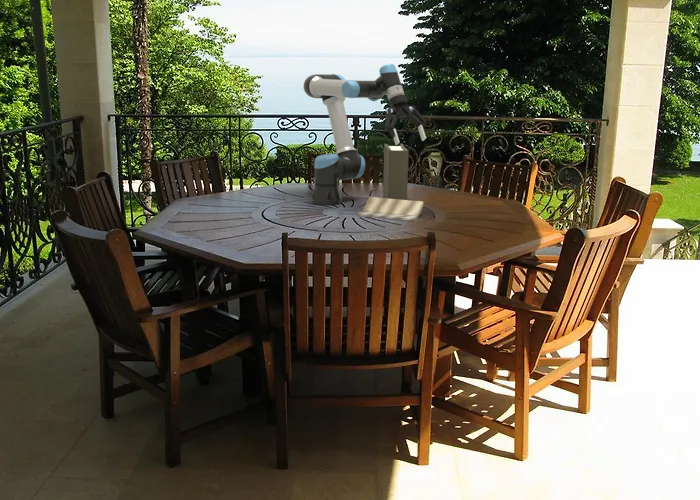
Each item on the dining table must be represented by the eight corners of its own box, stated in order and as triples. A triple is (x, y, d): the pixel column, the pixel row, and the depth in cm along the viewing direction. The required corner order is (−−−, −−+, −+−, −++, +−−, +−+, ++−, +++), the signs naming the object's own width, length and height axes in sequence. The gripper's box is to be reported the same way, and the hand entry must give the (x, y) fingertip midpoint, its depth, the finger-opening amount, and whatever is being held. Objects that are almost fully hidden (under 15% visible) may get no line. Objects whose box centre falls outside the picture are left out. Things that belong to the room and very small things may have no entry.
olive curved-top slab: (406, 207, 321) (408, 149, 313) (387, 207, 320) (389, 149, 313) (401, 198, 342) (402, 143, 334) (382, 198, 341) (384, 143, 333)
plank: (363, 213, 301) (362, 210, 300) (370, 199, 306) (369, 196, 305) (417, 218, 291) (417, 215, 289) (423, 204, 296) (423, 201, 295)
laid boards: (356, 217, 295) (356, 213, 294) (362, 214, 300) (362, 210, 299) (412, 222, 284) (412, 218, 284) (416, 220, 289) (416, 216, 289)
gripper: (375, 96, 286) (389, 141, 283) (424, 90, 296) (438, 134, 293) (368, 104, 293) (382, 148, 290) (417, 98, 303) (431, 141, 300)
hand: (411, 141), depth 291 cm, fingers open, 13 cm apart
